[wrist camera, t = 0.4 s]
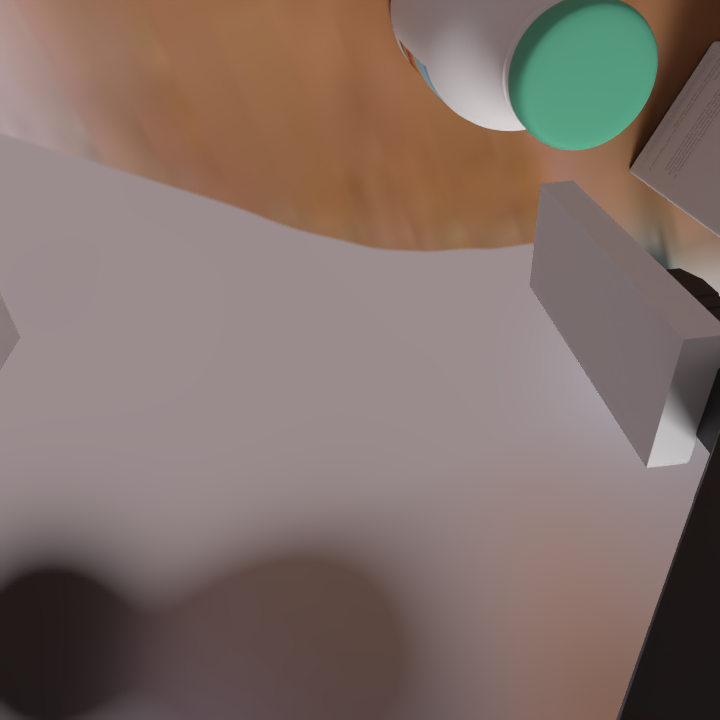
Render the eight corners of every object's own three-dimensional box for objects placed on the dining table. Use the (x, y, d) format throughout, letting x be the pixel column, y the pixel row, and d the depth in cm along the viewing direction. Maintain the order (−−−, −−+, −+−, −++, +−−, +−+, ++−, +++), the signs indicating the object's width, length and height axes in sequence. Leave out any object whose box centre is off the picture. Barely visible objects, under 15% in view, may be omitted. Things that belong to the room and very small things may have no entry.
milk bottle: (362, -17, 35) (427, 46, 19) (484, -111, 33) (672, -131, 17) (430, 103, 39) (531, 238, 23) (542, 25, 37) (738, 113, 21)
